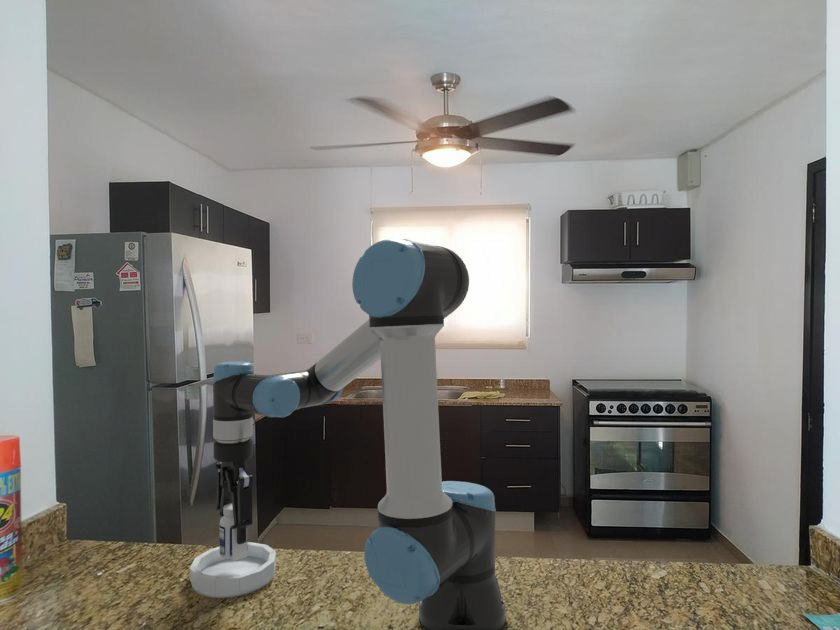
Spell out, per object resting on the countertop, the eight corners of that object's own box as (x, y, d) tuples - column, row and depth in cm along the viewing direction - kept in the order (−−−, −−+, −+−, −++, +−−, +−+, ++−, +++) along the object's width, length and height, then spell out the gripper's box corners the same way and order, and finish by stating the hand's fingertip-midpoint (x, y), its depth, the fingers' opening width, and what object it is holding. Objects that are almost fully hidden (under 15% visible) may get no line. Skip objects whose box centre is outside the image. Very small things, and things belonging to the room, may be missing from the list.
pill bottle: (252, 548, 112) (252, 501, 112) (241, 560, 106) (241, 511, 106) (226, 547, 112) (226, 500, 112) (214, 559, 107) (214, 510, 107)
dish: (289, 578, 108) (288, 561, 108) (208, 607, 98) (207, 588, 98) (255, 551, 121) (255, 536, 121) (180, 574, 110) (180, 557, 110)
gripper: (270, 444, 104) (271, 563, 105) (234, 428, 118) (234, 533, 119) (232, 451, 100) (232, 576, 100) (199, 433, 114) (199, 542, 114)
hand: (233, 552), depth 109 cm, fingers closed on pill bottle, 5 cm apart
